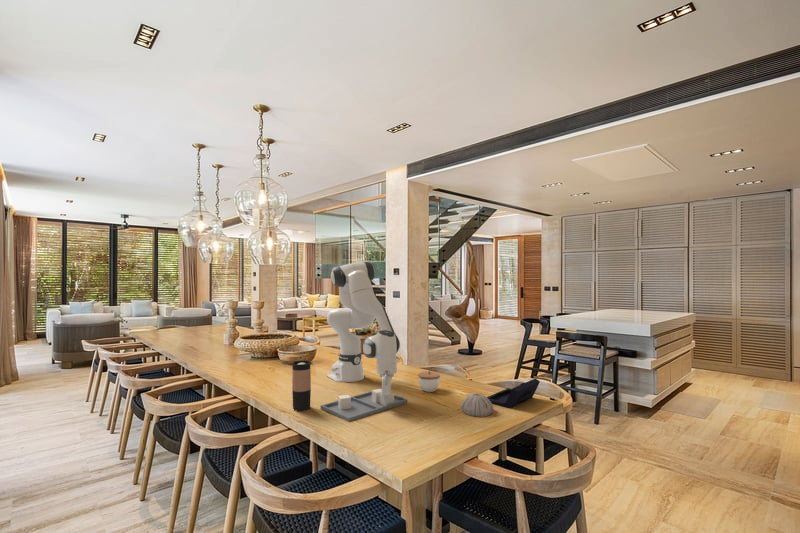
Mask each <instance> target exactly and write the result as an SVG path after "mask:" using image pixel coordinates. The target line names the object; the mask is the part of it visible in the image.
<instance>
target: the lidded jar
mask: <svg viewBox="0 0 800 533" xmlns="http://www.w3.org/2000/svg"><path fill="white" fill-rule="evenodd" d="M417 375H418V384H419V387H420V388H421V389H422V390H423V391H424V392H426V393H432V392H435V391H436V390H437V389H438V388H439V386H440V384H441V383H440V382H441V374H440V372H436V371H431V370H427V371H422V372H418V374H417Z"/></svg>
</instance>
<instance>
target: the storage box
mask: <svg viewBox="0 0 800 533" xmlns="http://www.w3.org/2000/svg"><path fill="white" fill-rule="evenodd" d="M540 383H541V381H540V380H538V379H537V378H533V379H530V380H528V381H526V382H522V383H520V384H519V385H517V386H514V387H512V388H510V387H509V388H508V387H507V388H505V389H503V390H501V391H498V392H495V393H493V394H491V395H488V396H486V397H487V398H488V399H489V400H490V401H491V403H492V405H493V406H498V407H502V408H505V409H512V408H515V407H516V406H518V405H520V404H522V403H524V402H527V401H528V400H530V399H533V397H534V395H535V393H536V391H537V389H538V386H539V385H540Z"/></svg>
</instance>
